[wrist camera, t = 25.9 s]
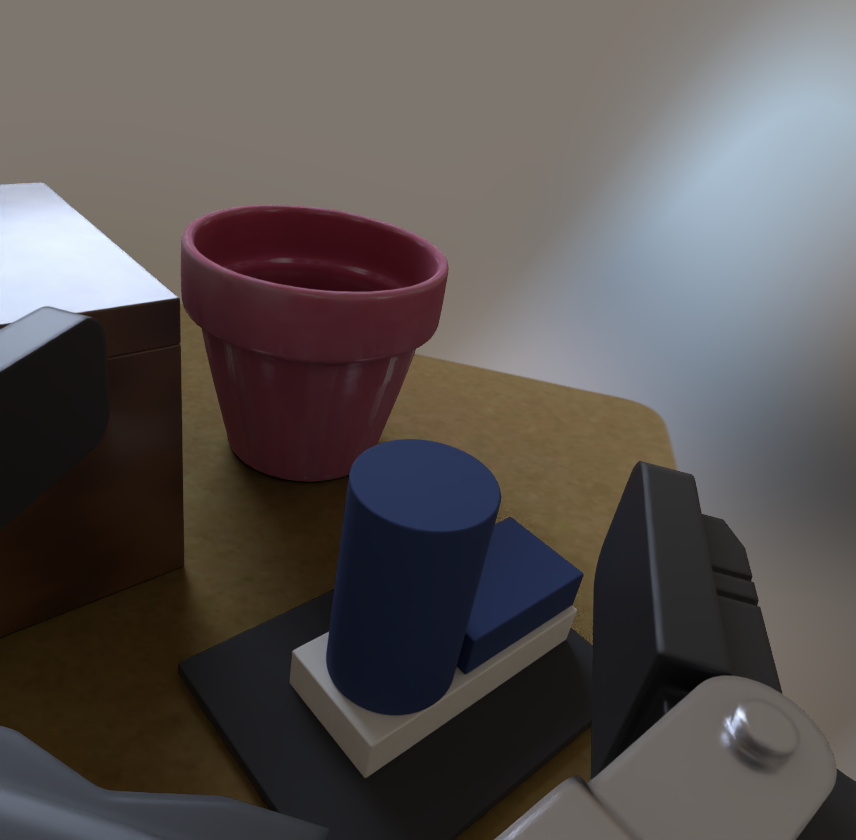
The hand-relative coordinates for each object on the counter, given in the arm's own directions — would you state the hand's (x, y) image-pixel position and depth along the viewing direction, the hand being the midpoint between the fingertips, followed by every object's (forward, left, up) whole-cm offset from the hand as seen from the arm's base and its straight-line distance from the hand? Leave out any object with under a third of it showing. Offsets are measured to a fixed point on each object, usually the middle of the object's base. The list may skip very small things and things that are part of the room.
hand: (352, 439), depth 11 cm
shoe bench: (+1, +26, -20) cm, 33 cm away
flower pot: (+17, +25, -20) cm, 36 cm away
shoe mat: (+11, +7, -20) cm, 24 cm away
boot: (+12, +7, -20) cm, 24 cm away
